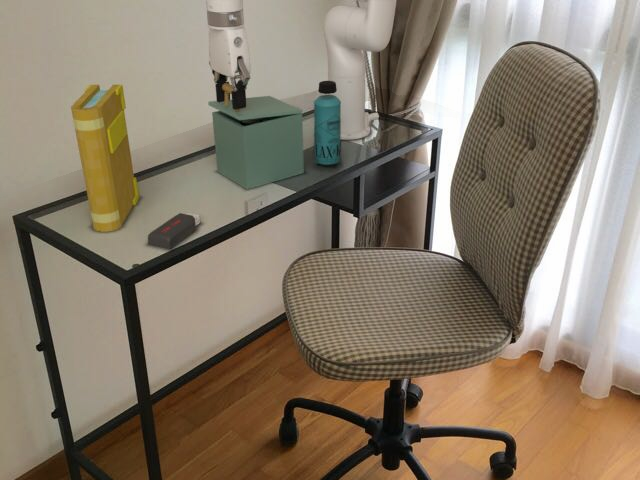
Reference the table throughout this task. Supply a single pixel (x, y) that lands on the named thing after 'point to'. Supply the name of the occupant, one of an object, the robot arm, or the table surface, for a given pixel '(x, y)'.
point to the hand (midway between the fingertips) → (231, 103)
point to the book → (105, 155)
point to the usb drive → (174, 230)
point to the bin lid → (254, 106)
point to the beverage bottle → (327, 125)
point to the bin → (258, 148)
